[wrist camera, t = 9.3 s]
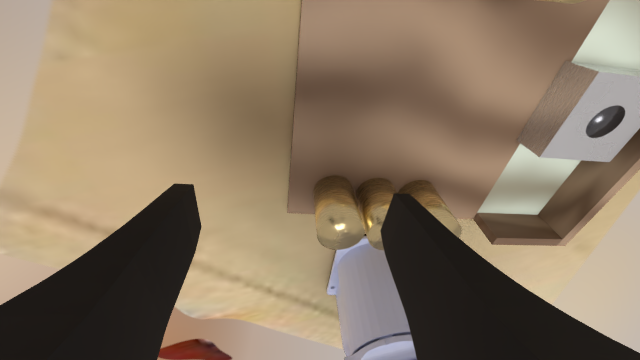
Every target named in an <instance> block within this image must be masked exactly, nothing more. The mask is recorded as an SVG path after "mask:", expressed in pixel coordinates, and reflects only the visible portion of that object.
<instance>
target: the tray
mask: <svg viewBox="0 0 640 360" xmlns="http://www.w3.org/2000/svg"><path fill="white" fill-rule="evenodd" d="M565 61H570V62H578V63H586V64H594V65H602V66H610V67H618V68H626V69H634V70H640V0H585V1H582V2H579V3H572V4H571V3H560V2H550V1H540V0H302V5H301V20H300V34H299V49H298V63H297V78H296V93H295V107H294V122H293V136H292V151H291V165H290V180H289V194H288V211H287V213H301V214H315V207H314V197H313V189H314V187H315V185H316V184H317V182H318V181H320V180H321V179H323V178H325V177H328V176H333V175H337V176H342V177H344V178H346V179H348V180H349V181H350V182H351V184H352V186H353V190H354V193H355V197H356V192H357V189H358V188H359V186H360V185H361V184H362V183H364V182H365V181H367V180H369V179H372V178H385V179H387V180H389V181H391V182H392V184H393V185H394V187H395V189H396V191H397V193H398V192H399V190H400V189H401V188H402V187H403V186H404V185H406V184H407V183H409V182H412V181H415V180H426V181H429V182H430V183H432V184H433V186H434V187H435V189H436V190H437V192H438V193H439V195H440V196H441V198H442V199H443V201H444V202H445V204H446V205H447V207H448V208H449V210H450V211H451V213H452V214H453V216H454V217H455V218H459V219H474V221H475V222H476V223H477V225H478V226H479V228H480V229H481V230H482V232H483V233H484V234H485V236H486V237H487V238H488V240H489V241H490V242H491V244H492V245H548V246H565V245H566V244H567V243H568V242H569V241H570V240H571V239H572V238H573V237H574V236H575V235H576V234H577V233H578V232H579V231H580V230H581V229H582V228H583V227H584V226H585V225H586V224H587V223H588V222H589V221H590V220H591V219H592V218H593V217H594V216H595V215H596V213H597V212H598V211H599V210H600V209H601V208H602V207H603V206H604V205H605V204H606V203H607V202H608V201H609V200H610V199H611V198H612V197H613V196H614V195H615V194H616V193H617V192H618V191H619V190H620V189H621V188H622V187H623V186H624V185H625V184H626V183H627V182H628V181H629V180H630V179H631V178H632V177H633V176H634V175H635V174H636V173H637V172H638V171H639V169H640V129H639V130H638V131H637V132H636V133H635V134H634V135H633V136H632V138H631V139H630V140H629V141H628V142H627V143H626V144H625V146H624V147H623V148H622V149H621V150H620V151H619V152H618V153H617V155H616V156H615V157H614V158H613V159H612V160H611V161H610V162H599V161H584V160H569V159H555V158H540V157H538V156H537V155H536V154H534V153H533V152H532V151H530V150H529V149H527V148H526V147H525V146H523V145H522V144H521V143H519V142H518V141H517V138H518V137H519V135H520V134H521V132H522V130H523V129H524V127H525V125H526V124H527V122H528V120H529V119H530V117H531V116H532V114H533V112H534V111H535V109H536V107H537V106H538V104H539V102H540V101H541V99H542V98H543V96H544V94H545V93H546V91H547V89H548V88H549V86H550V84H551V83H552V81H553V80H554V78H555V76H556V75H557V73H558V71H559V70H560V68H561V66H562V65H563V63H564V62H565ZM357 204H358V203H357ZM359 211H360V210H359Z"/></svg>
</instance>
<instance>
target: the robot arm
mask: <svg viewBox="0 0 640 360" xmlns="http://www.w3.org/2000/svg"><path fill="white" fill-rule="evenodd" d="M200 230H201V222H200V217H199V212H198V207H197V201H196V196H195V191H194V186H193V184H173V185H172V186H171V187H170V188H168V189H167V190H166V191H165V192H164V193H162V194H161V195H160V196H159V197H158V198H156V199H155V200H154V201H153V202H152V203H150V204H149V205H148V206H147V207H146V208H144V209H143V210H142V211H141V212H140V213H138V214H137V215H136V216H135V217H133V218H132V219H131V220H130V221H128V222H127V223H126V224H125V225H123V226H122V227H121V228H119V229H118V230H117V231H115V232H114V233H113V234H111V235H110V236H108V237H107V238H106V239H104V240H103V241H102V242H100V243H99V244H98V245H96V246H95V247H94V248H92V249H91V250H89V251H88V252H87V253H85V254H84V255H82V256H81V257H79V258H78V259H76V260H75V261H73V262H72V263H70V264H69V265H67V266H65V267H64V268H62V269H61V270H59V271H58V272H56V273H55V274H53V275H51V276H50V277H48V278H47V279H45V280H43V281H42V282H40V283H39V284H37V285H35V286H33V287H31V288H30V289H28V290H26V291H24V292H23V293H21V294H19V295H17V296H16V297H14V298H12V299H11V300H9V301H7V302H5V303H3V304H2V305H0V360H157V358H158V355H159V351H160V348H161V344H162V340H163V337H164V333H165V330H166V327H167V324H168V321H169V318H170V316H171V313H172V310H173V308H174V305H175V303H176V300H177V298H178V295H179V293H180V290H181V287H182V285H183V282H184V280H185V277H186V275H187V272H188V270H189V267H190V264H191V262H192V259H193V257H194V254H195V251H196V247H197V243H198V239H199V235H200ZM380 232H381V237H382V243H383V247H384V250H379V249H376V248H374V247H372V246H371V245H370V244H369V241H368V238H367V236H363V238H362V240H361V241H360V242H359V243H357V244H356V245H354V246H352V247H350V248H347V249H341V250H336V253H335V257H334V261H333V266H332V270H331V274H330V278H329V282H328V287H327V294H328V295H336V300H337V307H338V315H339V322H340V329H341V337H342V344H343V348H344V352H345V354H346V357H345V358H344V360H640V353H638V352H636V351H634V350H633V349H631V348H629V347H627V346H625V345H623V344H621V343H619V342H617V341H615V340H612V339H611V338H609V337H607V336H605V335H603V334H601V333H599V332H598V331H596V330H594V329H592V328H591V327H589V326H587V325H585V324H584V323H582V322H580V321H578V320H576V319H575V318H573V317H571V316H569V315H568V314H566V313H564V312H563V311H561V310H559V309H558V308H556V307H554V306H553V305H551V304H549V303H548V302H546V301H545V300H543V299H541V298H540V297H538V296H537V295H535V294H534V293H532V292H530V291H529V290H527V289H526V288H524V287H523V286H521V285H520V284H518V283H517V282H515V281H514V280H512V279H511V278H510V277H508V276H507V275H505V274H504V273H503V272H501V271H500V270H498V269H497V268H496V267H494V266H493V265H492V264H490V263H489V262H488V261H486V260H485V259H484V258H482V257H481V256H480V255H479V254H477V253H476V252H475V251H474V250H472V249H471V248H470V247H469V246H468V245H466V244H465V243H464V242H463V241H462V240H460V239H459V238H458V237H457V236H456V235H455V234H453V233H452V232H451V231H450V230H449V229H448V228H447V227H446V226H444V225H443V224H442V223H441V222H440V221H439V220H438V219H437V218H436V217H435V216H433V215H432V214H431V213H430V212H429V211H428V210H427V209H426V208H425V207H424V206H422V205H421V204H420V203H419V202H418V201H417V200H416V199H415V198H413V197H412V196H411V195H410V194H399V193H394V194H393V197H392V200H391V203H390V205H389V208H388V211H387V214H386V216H385V219H384V222H383V225H382V228H381V230H380Z"/></svg>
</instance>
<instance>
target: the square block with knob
mask: <svg viewBox="0 0 640 360" xmlns="http://www.w3.org/2000/svg"><path fill="white" fill-rule="evenodd" d="M639 129H640V70H634V69H626V68H618V67H610V66H602V65H594V64H586V63H578V62H570V61H565V62H564V63H563V65H562V66H561V68H560V70H559V71H558V73H557V75H556V76H555V78H554V80H553V81H552V83H551V84H550V86H549V88H548V89H547V91H546V93H545V94H544V96H543V98H542V99H541V101H540V102H539V104H538V106H537V107H536V109H535V111H534V112H533V114H532V116H531V117H530V119H529V120H528V122H527V124H526V125H525V127H524V129H523V130H522V132H521V134H520V135H519V137H518V138H517V141H518V142H519V143H521V144H522V145H523V146H525V147H526V148H527V149H529V150H530V151H532V152H533V153H534V154H536V155H537V156H538V157H540V158H555V159H569V160H584V161H599V162H610V161H611V160H612V159H613V158H614V157H615V156H616V155H617V153H618V152H619V151H620V150H621V149H622V148H623V147H624V146H625V144H626V143H627V142H628V141H629V140H630V139H631V138H632V136H633V135H634V134H635V133H636V132H637V131H638V130H639Z"/></svg>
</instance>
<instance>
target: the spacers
mask: <svg viewBox="0 0 640 360" xmlns="http://www.w3.org/2000/svg"><path fill="white" fill-rule="evenodd" d="M540 1H550V2H560V3H571V4H572V3H579V2H582V1H585V0H540ZM394 193H397V191H396V189H395V187H394V185H393V184H392V182H391V181H389V180H387V179H385V178H372V179H369V180H367V181H365V182H364V183H362V184H361V185H360V186H359V188H358V189H357V192H356V197H355V193H354V190H353V186H352V184H351V182H350V181H349V180H348V179H346V178H344V177H342V176H337V175H333V176H328V177H325V178H323V179H321V180H320V181H318V182H317V184H316V185H315V187H314V189H313V197H314V207H315V218H316V228H317V238H318V241H319V242H320V243H321V244H322V245H323V246H324V247H326V248H329V249H334V250H341V249H347V248H350V247H352V246H354V245H356V244H357V243H359V242H360V241H361V240H362V238H363V236H364V234H365V231H366V235H367V238H368V241H369V244H370V245H371V246H372V247H374V248H376V249H379V250H384V247H383V243H382V237H381V232H380V230H381V228H382V225H383V222H384V219H385V216H386V214H387V211H388V208H389V205H390V203H391V200H392V197H393V194H394ZM398 193H399V194H410V195H411V196H412V197H413V198H415V199H416V200H417V201H418V202H419V203H420V204H421V205H422V206H424V207H425V208H426V209H427V210H428V211H429V212H430V213H431V214H432V215H433V216H435V217H436V218H437V219H438V220H439V221H440V222H441V223H442V224H443V225H444V226H446V227H447V228H448V229H449V230H450V231H451V232H452V233H453V234H455V235H456V236H457V237H458V238H459V236H460V235H461V226H460V225H459V223H458V222H457V220H456V219H455V217H454V216H453V214H452V213H451V211H450V210H449V208H448V207H447V205H446V204H445V202H444V201H443V199H442V198H441V196H440V195H439V193H438V192H437V190H436V189H435V187H434V186H433V184H432V183H430V182H429V181H426V180H415V181H412V182H409V183H407V184H406V185H404V186H403V187H402V188H401V189H400V190H399V192H398ZM357 203H358V204H357ZM359 210H360V211H359ZM361 217H362V218H361ZM363 224H364V225H363Z"/></svg>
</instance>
